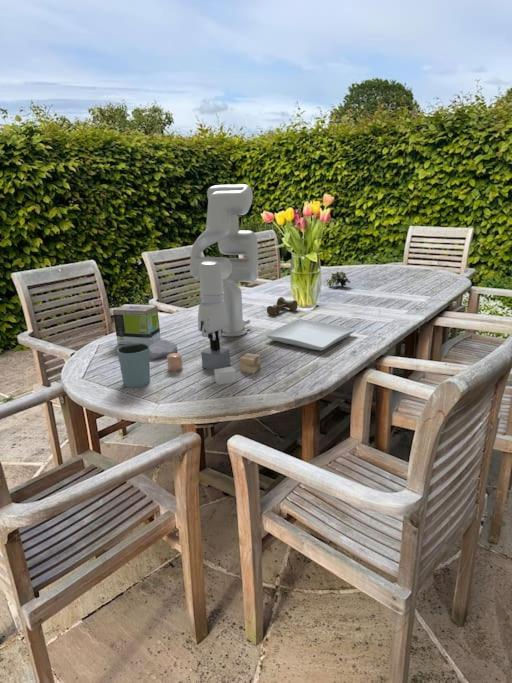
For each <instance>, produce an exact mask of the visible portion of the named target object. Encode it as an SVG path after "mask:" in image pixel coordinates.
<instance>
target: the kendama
mask: <svg viewBox="0 0 512 683" xmlns="http://www.w3.org/2000/svg"><path fill="white" fill-rule="evenodd" d="M298 305H299V304H298V301H297V300H290V301H289V300H286V299H285V298H284V297H282V296H280V297H278V298H277V300H276V304H273V305H269V306H267V308H266V313H267V314H268V316H270V317H273V316H275V315H276V314H279V313H280V312H281V310H282V309H283V308H284V309H285V308H287V309H289V310H290V311H291V312H295V311H296V310H297V309H298V307H299V306H298Z"/></svg>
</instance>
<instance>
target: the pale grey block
mask: <svg viewBox="0 0 512 683" xmlns="http://www.w3.org/2000/svg"><path fill="white" fill-rule="evenodd" d="M236 371H237V370H236V369H235V368H234V367H233V366H227V367H225V368H219V369H214V370H213V372H214V381H215V382H216V384H217V385H220V386H221V385H225V384H231V383H237V372H236Z"/></svg>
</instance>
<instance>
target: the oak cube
mask: <svg viewBox="0 0 512 683" xmlns="http://www.w3.org/2000/svg"><path fill="white" fill-rule="evenodd" d="M239 362H240V363H239V364H240V366H239V367H240V372H244V373H250V374H255V373H257V371H259V370H260V369H261V355H260V354H255V353H248V352H246V353H245V354H244V355H241V357H240V358H239Z"/></svg>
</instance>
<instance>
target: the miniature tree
mask: <svg viewBox="0 0 512 683" xmlns="http://www.w3.org/2000/svg"><path fill="white" fill-rule="evenodd" d="M334 283H335V288H334V289H336V288H337V286H339V284H340V286H342V287H344V286H347V284H346V283H348V284H351V281H350V280H349V278H348V277H347V275H346V273H345V272H344V271H336V272H335V273H333V272H331V278H330V279H329V278H327V279H326V285H328V286H329V287H330V286H332V287H334Z"/></svg>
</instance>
